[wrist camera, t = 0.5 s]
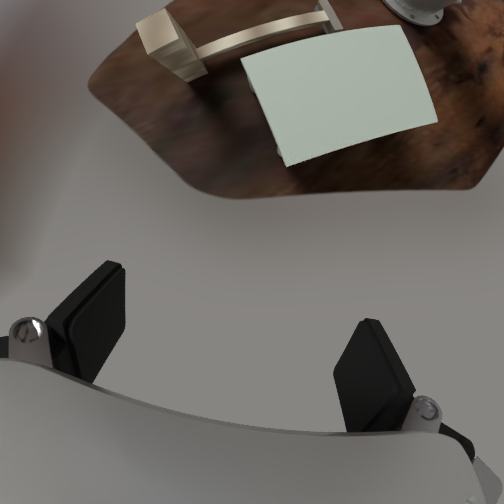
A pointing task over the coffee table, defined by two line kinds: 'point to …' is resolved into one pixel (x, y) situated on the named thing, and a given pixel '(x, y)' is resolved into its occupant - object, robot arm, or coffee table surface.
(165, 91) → the coffee table surface
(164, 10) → the hoe
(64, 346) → the robot arm
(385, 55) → the stand
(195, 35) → the coffee table surface
